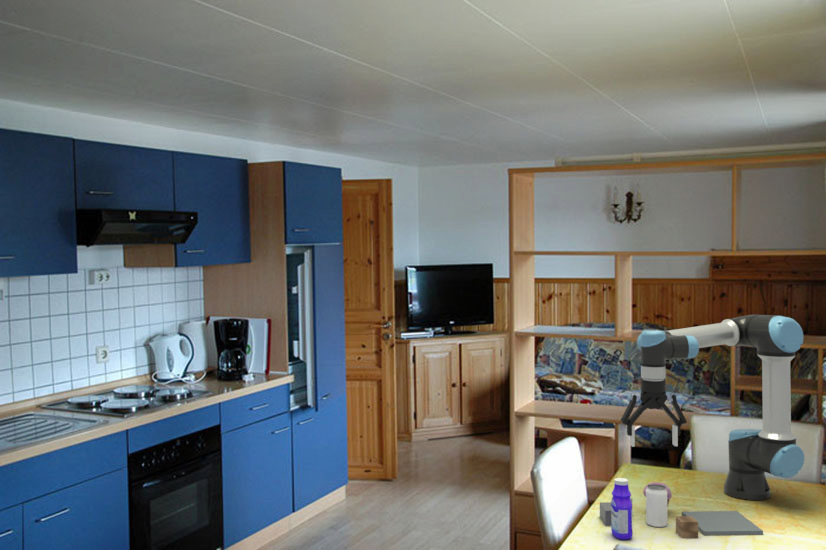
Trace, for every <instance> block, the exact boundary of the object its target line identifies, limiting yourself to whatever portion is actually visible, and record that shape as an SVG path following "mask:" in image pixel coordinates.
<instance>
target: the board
mask: <svg viewBox="0 0 826 550" xmlns="http://www.w3.org/2000/svg"><path fill="white" fill-rule="evenodd" d="M681 516H692V517H693V518H694V519H696V520H697V521H698V532H699V533H701V534H702V535H703V536H761V535H764V530H763V529H761V528H760V527H759V526H757V525H756V524H755V523H754V522H753V521H751V520H749V518H747V517H746V516H744V515H743V514H742V513H740V512H739V511H737V510H715V511H714V510H703V511H702V510H700V511H698V510H697V511H693V510H692V511H691V510H690V511H687V510H686V511H684V510H683V511H681Z"/></svg>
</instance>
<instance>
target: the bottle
mask: <svg viewBox="0 0 826 550" xmlns="http://www.w3.org/2000/svg"><path fill="white" fill-rule="evenodd" d="M613 482H614V487H613V489H612V491H611V494H612V495H611V496H612V497H611V501H610V502H611V526H610V527H611V534H612V535H613V536H614V537H615V538H617V539H619V540H630V539H631V538H632V537H633V534H634V533H633V501H632V502H631V499H630V496H632V493H631V491H630V490H629V480H628V479H627V478H624V477H617V478H614V481H613Z"/></svg>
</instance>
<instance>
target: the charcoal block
mask: <svg viewBox="0 0 826 550" xmlns="http://www.w3.org/2000/svg"><path fill="white" fill-rule="evenodd" d="M599 518H600V521H602V524H603V525H604V524H605V525H604V526H605V527H611V501H610V502H601V501H600V502H599Z"/></svg>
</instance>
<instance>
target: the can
mask: <svg viewBox="0 0 826 550" xmlns="http://www.w3.org/2000/svg"><path fill="white" fill-rule="evenodd" d="M647 485H648V484H647ZM647 485H646V486H647ZM668 518H669V517H668V507H667V491H666V487H665V486H663V485H659V484H650V485H648V486H647V489H646V497H645V522H646V523H647V526H649V527H653V528H665V527H667V526H668V524H669V523H668V521H669V520H668Z"/></svg>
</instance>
